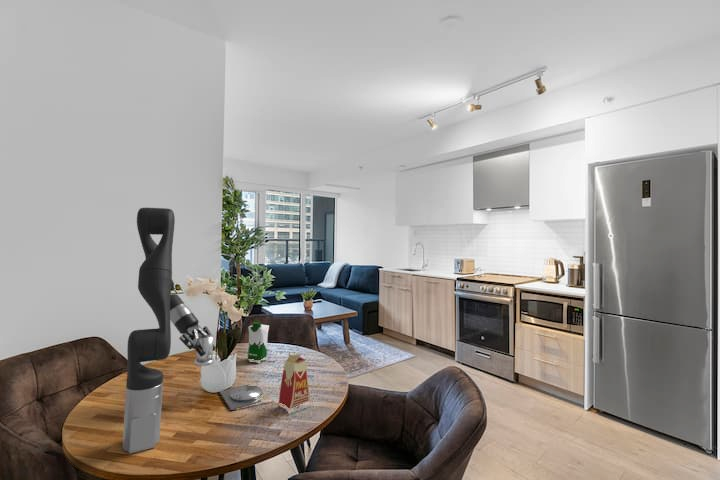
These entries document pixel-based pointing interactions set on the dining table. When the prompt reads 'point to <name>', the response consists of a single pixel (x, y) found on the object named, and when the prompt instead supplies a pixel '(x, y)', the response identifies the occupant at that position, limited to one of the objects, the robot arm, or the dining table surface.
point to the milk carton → (294, 382)
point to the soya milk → (257, 341)
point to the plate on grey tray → (241, 396)
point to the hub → (207, 345)
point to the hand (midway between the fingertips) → (209, 352)
